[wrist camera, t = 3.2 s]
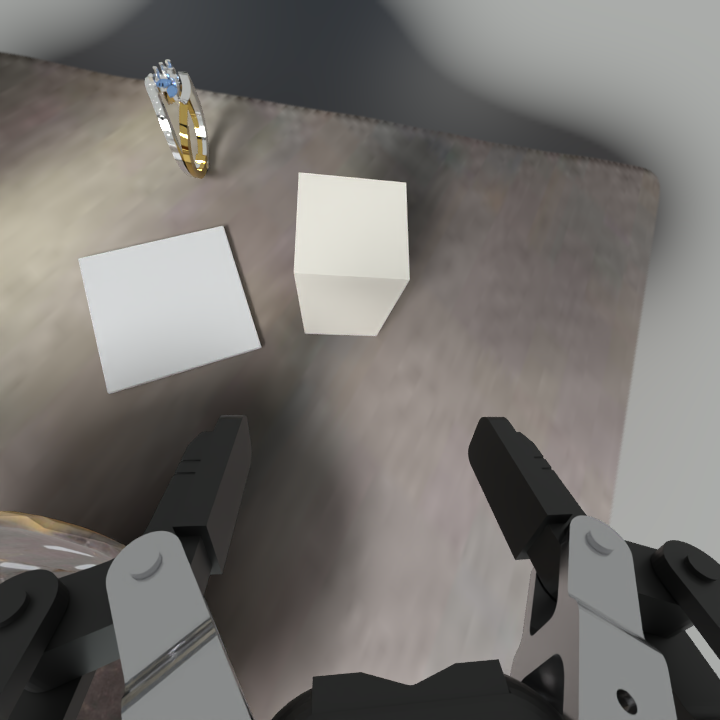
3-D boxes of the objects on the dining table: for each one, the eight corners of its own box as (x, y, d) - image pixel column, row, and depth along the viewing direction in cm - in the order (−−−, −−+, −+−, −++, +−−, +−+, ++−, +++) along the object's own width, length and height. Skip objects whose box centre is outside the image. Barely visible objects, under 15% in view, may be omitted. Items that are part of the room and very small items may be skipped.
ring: (193, 134, 30) (148, 32, 22) (226, 138, 30) (194, 40, 23) (181, 195, 29) (128, 108, 21) (217, 199, 29) (178, 116, 21)
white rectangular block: (376, 336, 28) (409, 279, 17) (305, 333, 27) (293, 273, 17) (375, 271, 29) (405, 182, 19) (307, 267, 29) (298, 172, 18)
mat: (81, 261, 26) (78, 258, 26) (224, 228, 28) (222, 225, 28) (111, 393, 24) (107, 393, 24) (261, 347, 26) (260, 346, 26)
